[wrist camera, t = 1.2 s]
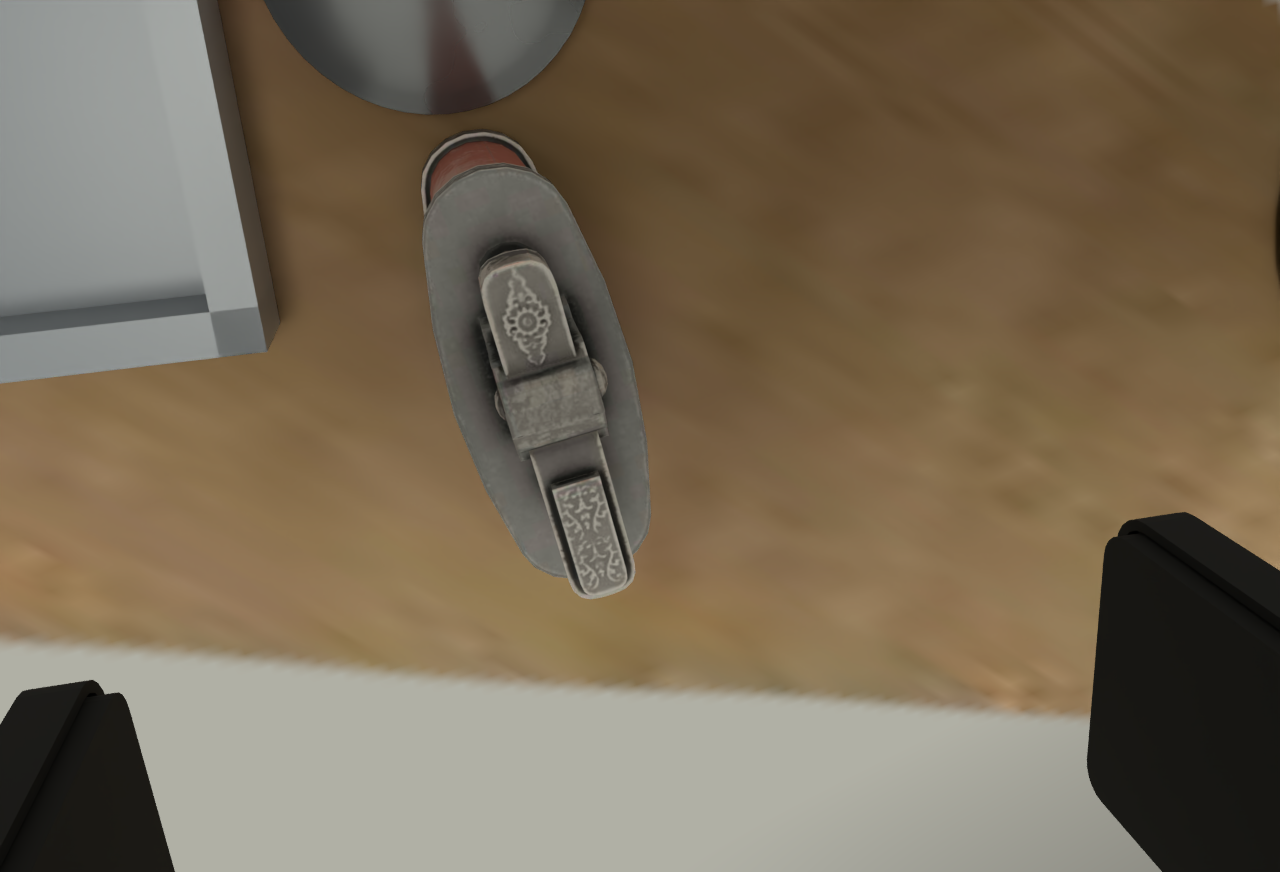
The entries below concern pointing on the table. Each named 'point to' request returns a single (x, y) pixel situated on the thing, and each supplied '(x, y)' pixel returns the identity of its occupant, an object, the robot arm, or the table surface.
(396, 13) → the pot lid
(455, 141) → the lighter
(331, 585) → the table surface
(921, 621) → the table surface
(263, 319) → the tray
